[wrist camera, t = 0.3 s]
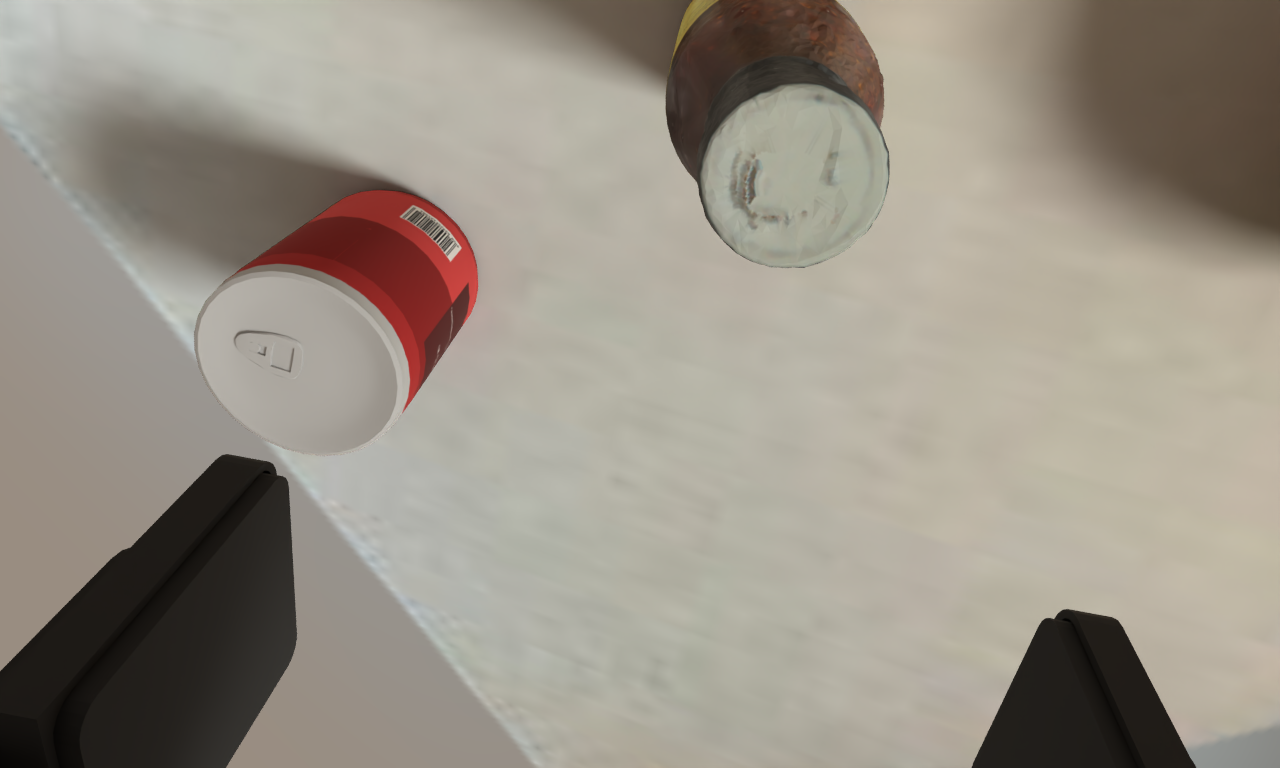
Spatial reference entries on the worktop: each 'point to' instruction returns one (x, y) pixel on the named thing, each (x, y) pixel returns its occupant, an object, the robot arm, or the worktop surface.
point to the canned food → (338, 322)
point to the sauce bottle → (779, 126)
